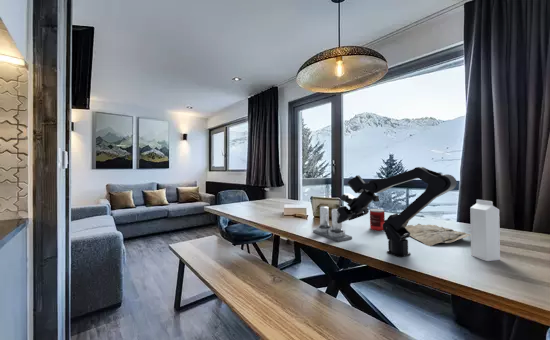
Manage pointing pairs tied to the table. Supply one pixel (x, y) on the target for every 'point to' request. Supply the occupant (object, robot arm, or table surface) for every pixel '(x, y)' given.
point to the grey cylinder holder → (329, 227)
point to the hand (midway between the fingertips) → (343, 221)
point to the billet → (335, 226)
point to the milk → (485, 231)
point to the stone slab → (434, 234)
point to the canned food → (377, 219)
